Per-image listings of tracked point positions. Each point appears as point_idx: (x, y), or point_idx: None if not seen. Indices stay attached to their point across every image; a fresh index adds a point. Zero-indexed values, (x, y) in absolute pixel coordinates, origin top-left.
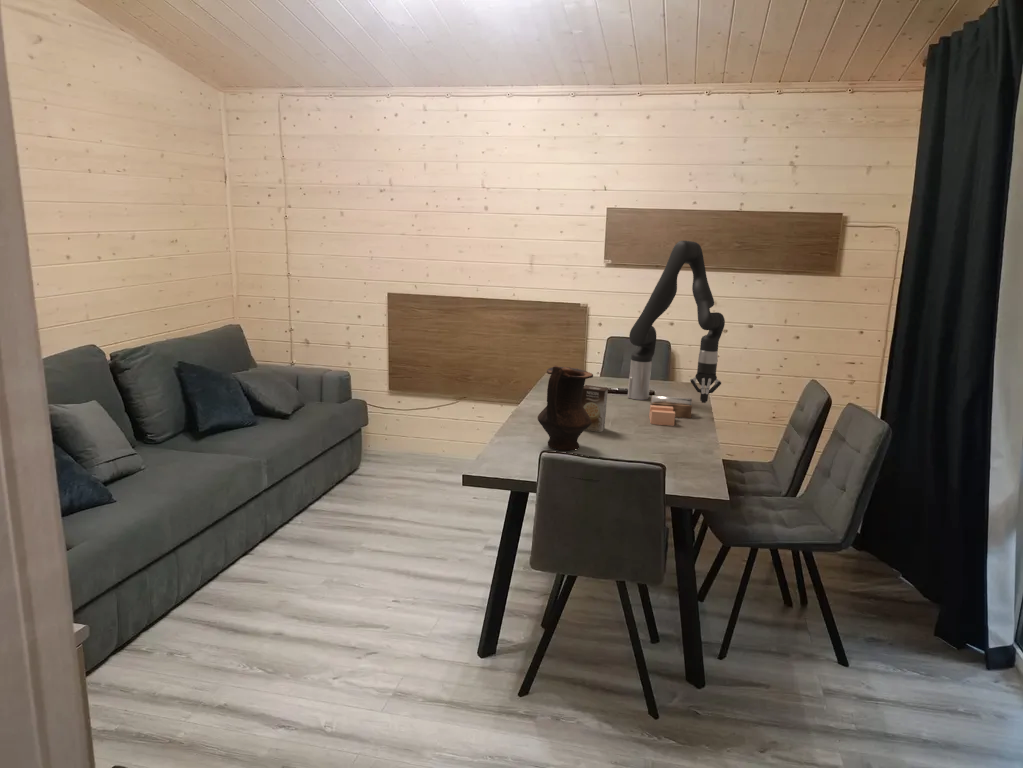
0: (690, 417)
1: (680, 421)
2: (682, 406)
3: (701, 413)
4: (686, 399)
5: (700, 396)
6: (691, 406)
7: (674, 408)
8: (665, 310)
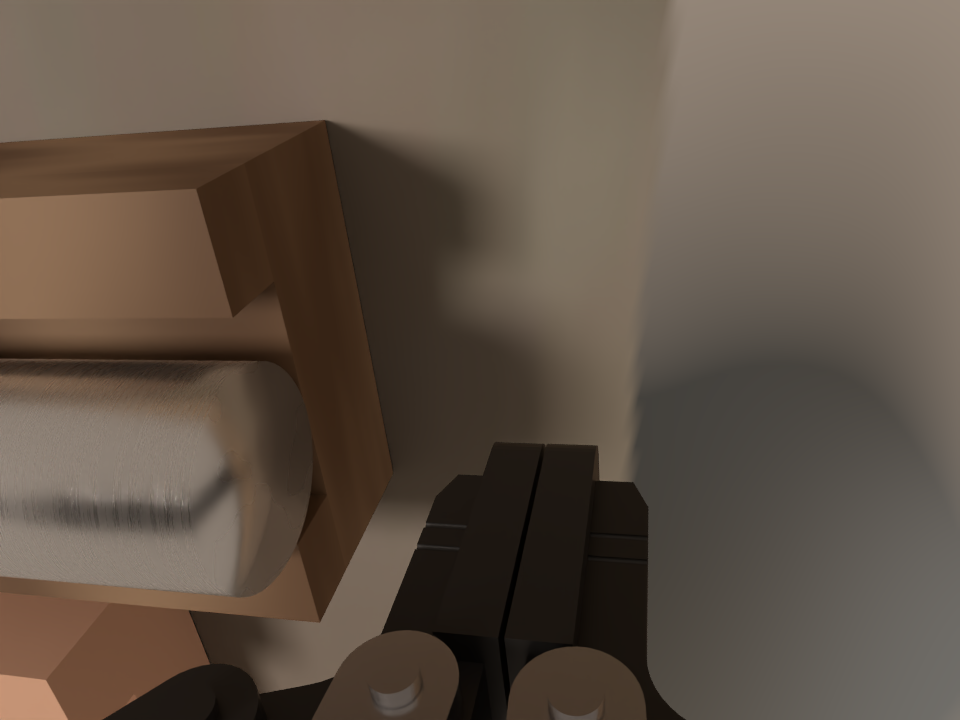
0: (385, 480)
1: (283, 627)
2: (167, 594)
3: (597, 62)
4: (123, 585)
5: (413, 578)
6: (312, 620)
7: None
8: None
